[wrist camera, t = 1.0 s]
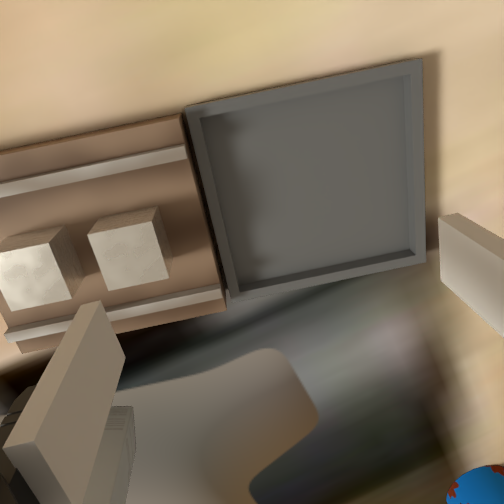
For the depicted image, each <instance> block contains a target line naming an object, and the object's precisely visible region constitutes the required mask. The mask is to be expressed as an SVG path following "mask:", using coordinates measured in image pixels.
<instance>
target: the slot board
mask: <svg viewBox="0 0 504 504" xmlns="http://www.w3.org/2000/svg"><path fill="white" fill-rule="evenodd" d="M157 205H158V208H159V212H160V215H161V218H162V222H163V225H164V229H165V232H166V235H167V239H168V242H169V245H170V249H171V252H172V256H173V261H172V266H171V271H170V277H169V278H168V279H163V280H159V281H154V282H149V283H144V284H140V285H135V286H130V287H125V288H121V289H116V290H111V291H108V288H107V286H106V283H105V280H104V278H103V275H102V273H101V270H100V267H99V265H98V262H97V260H96V257H95V254H94V252H93V249H92V246H91V244H90V241H89V239H88V236H87V234H88V233H89V231H90V230H91V229H92V227H93V226H94V225H95V223H96V222H97V221H98V219H99V218H100V217H105V216H109V215H114V214H119V213H124V212H128V211H133V210H138V209H143V208H147V207H152V206H157ZM62 225H65V226H66V229H67V231H68V234H69V236H70V239H71V241H72V244H73V246H74V249H75V251H76V254H77V256H78V259H79V261H80V264H81V266H82V269H83V271H84V274H85V278H84V280H83V281H82V283H81V285H80V286H79V288H78V290H77V291H76V293H75V295H74V296H73V298H72V299H69V300H64V301H59V302H54V303H50V304H45V305H40V306H35V307H31V308H26V309H21V310H16V311H12V312H11V310H10V308H9V306H8V304H7V302H6V300H5V298H4V296H3V294H2V292H1V290H0V312H1V314H2V316H3V318H4V320H5V322H6V324H7V326H8V329H7V331H6V332H5V333H4V336H5V337H6V339H7V341H8V343H12V342H16V343H17V345H18V347H19V349H20V351H21V353H22V354H23V353H28V352H32V351H37V350H42V349H46V348H51V347H56V346H59V344H60V342H61V340H62V339H63V337H64V335H65V333H66V331H67V329H68V328H69V326H70V324H71V322H72V320H73V319H74V317H75V315H76V313H77V311H78V309H79V308H80V306H81V305H83V304H87V303H91V302H95V301H99V300H101V303H102V305H103V307H104V309H105V312H106V314H107V316H108V319H109V321H110V323H111V326H112V328H113V330H114V332H115V334H117V333H122V332H127V331H132V330H136V329H141V328H146V327H151V326H155V325H160V324H165V323H170V322H174V321H179V320H184V319H188V318H193V317H198V316H203V315H207V314H212V313H217V312H222V311H226V310H227V307H226V291H225V286H224V282H223V278H222V274H221V270H220V266H219V262H218V258H217V254H216V250H215V246H214V242H213V238H212V234H211V230H210V226H209V222H208V218H207V214H206V210H205V206H204V202H203V198H202V194H201V190H200V186H199V181H198V177H197V173H196V169H195V165H194V161H193V157H192V153H191V149H190V145H189V141H188V137H187V133H186V129H185V125H184V121H183V117H182V113H180V114H175V115H170V116H165V117H160V118H156V119H151V120H146V121H141V122H136V123H132V124H127V125H122V126H117V127H112V128H108V129H103V130H98V131H93V132H89V133H84V134H79V135H74V136H69V137H65V138H60V139H55V140H50V141H45V142H41V143H36V144H31V145H26V146H21V147H17V148H12V149H7V150H2V151H0V242H1V241H3V240H4V239H5V238H6V237H9V236H14V235H19V234H24V233H28V232H33V231H38V230H43V229H47V228H52V227H57V226H62Z"/></svg>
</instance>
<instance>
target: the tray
mask: <svg viewBox="0 0 504 504" xmlns="http://www.w3.org/2000/svg"><path fill="white" fill-rule="evenodd" d="M185 112H186V116H187V121H188V125H189V129H190V133H191V137H192V141H193V145H194V149H195V153H196V157H197V162H198V166H199V170H200V174H201V178H202V182H203V186H204V190H205V194H206V199H207V203H208V207H209V211H210V215H211V219H212V223H213V227H214V231H215V235H216V240H217V244H218V248H219V252H220V256H221V260H222V264H223V268H224V272H225V276H226V281H227V285H228V289H229V293H230V297H231V301H232V303H235V302H239V301H244V300H249V299H253V298H258V297H263V296H268V295H272V294H277V293H282V292H287V291H291V290H296V289H301V288H306V287H310V286H315V285H320V284H324V283H329V282H334V281H339V280H343V279H348V278H353V277H358V276H362V275H367V274H372V273H377V272H381V271H386V270H391V269H395V268H400V267H405V266H410V265H414V264H419V263H424V262H426V230H425V176H424V123H423V69H422V58H420V59H408V60H404V61H399V62H394V63H389V64H384V65H380V66H375V67H370V68H365V69H360V70H356V71H351V72H346V73H341V74H336V75H332V76H327V77H322V78H317V79H312V80H308V81H303V82H298V83H293V84H289V85H284V86H279V87H274V88H269V89H265V90H260V91H255V92H250V93H245V94H241V95H236V96H231V97H226V98H221V99H217V100H212V101H207V102H202V103H197V104H193V105H188V106H185Z"/></svg>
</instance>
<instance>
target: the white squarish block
mask: <svg viewBox="0 0 504 504" xmlns="http://www.w3.org/2000/svg"><path fill="white" fill-rule="evenodd" d="M84 278H85V274H84V271H83V269H82V266H81V264H80V261H79V259H78V256H77V254H76V251H75V249H74V246H73V244H72V241H71V239H70V236H69V234H68V231H67V229H66V226H65V225H62V226H57V227H52V228H47V229H43V230H38V231H33V232H28V233H24V234H19V235H14V236H9V237H6V238H5V239H4V240H3V241H1V242H0V290H1V292H2V294H3V296H4V298H5V300H6V302H7V304H8V306H9V308H10V310H11V312H12V311H16V310H21V309H26V308H31V307H35V306H40V305H45V304H50V303H54V302H59V301H64V300H69V299H72V298H73V296H74V295H75V293H76V291H77V290H78V288H79V286H80V285H81V283H82V281H83V280H84Z"/></svg>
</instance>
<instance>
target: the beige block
mask: <svg viewBox="0 0 504 504" xmlns="http://www.w3.org/2000/svg"><path fill="white" fill-rule="evenodd" d="M87 236H88V239H89V241H90V244H91V246H92V249H93V252H94V254H95V257H96V260H97V262H98V265H99V267H100V270H101V273H102V275H103V278H104V280H105V283H106V286H107V288H108V291H111V290H116V289H121V288H125V287H130V286H135V285H140V284H144V283H149V282H154V281H159V280H163V279H168V278H169V277H170V271H171V266H172V261H173V256H172V252H171V249H170V245H169V242H168V239H167V235H166V232H165V229H164V225H163V222H162V218H161V215H160V212H159V208H158V205H157V206H152V207H147V208H143V209H138V210H133V211H128V212H124V213H119V214H114V215H109V216H105V217H100V218H99V219H98V221H97V222H96V223H95V225H94V226H93V227H92V229H91V230H90V231H89V233H88V234H87Z"/></svg>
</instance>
